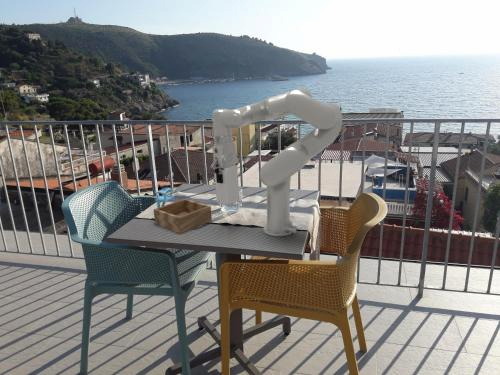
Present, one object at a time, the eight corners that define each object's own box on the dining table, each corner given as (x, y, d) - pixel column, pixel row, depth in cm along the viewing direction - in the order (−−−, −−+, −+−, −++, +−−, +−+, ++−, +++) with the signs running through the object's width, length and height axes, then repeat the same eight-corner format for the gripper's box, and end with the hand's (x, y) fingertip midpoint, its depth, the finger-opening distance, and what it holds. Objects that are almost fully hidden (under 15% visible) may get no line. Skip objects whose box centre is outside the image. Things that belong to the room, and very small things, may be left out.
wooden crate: (211, 220, 174) (210, 206, 172) (181, 233, 161) (179, 218, 159) (185, 212, 185) (184, 198, 183) (155, 223, 172) (153, 209, 170)
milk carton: (239, 200, 165) (236, 157, 160) (227, 205, 160) (224, 161, 155) (228, 197, 170) (225, 155, 164) (216, 201, 165) (212, 159, 160)
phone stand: (164, 207, 192) (161, 185, 188) (177, 209, 188) (175, 186, 185) (154, 213, 185) (151, 189, 182) (168, 215, 182) (165, 191, 178)
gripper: (214, 143, 149) (218, 187, 154) (244, 136, 161) (246, 177, 166) (201, 142, 153) (205, 184, 159) (231, 135, 166) (233, 174, 171)
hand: (226, 180), depth 162 cm, fingers closed on milk carton, 7 cm apart
